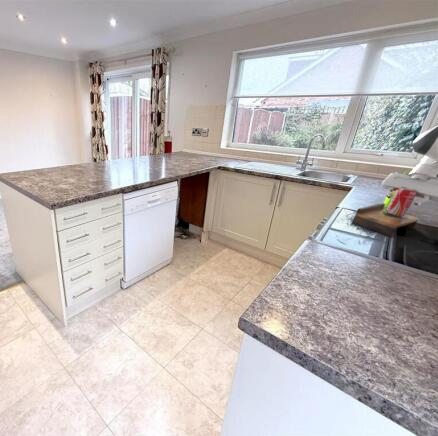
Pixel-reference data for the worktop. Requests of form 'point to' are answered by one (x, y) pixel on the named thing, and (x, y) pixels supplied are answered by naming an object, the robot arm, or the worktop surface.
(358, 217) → the shelf
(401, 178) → the robot arm
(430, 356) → the worktop surface
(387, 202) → the soap dispenser
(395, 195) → the beverage can
